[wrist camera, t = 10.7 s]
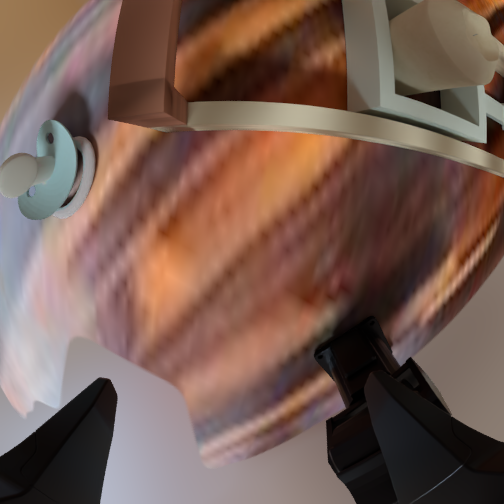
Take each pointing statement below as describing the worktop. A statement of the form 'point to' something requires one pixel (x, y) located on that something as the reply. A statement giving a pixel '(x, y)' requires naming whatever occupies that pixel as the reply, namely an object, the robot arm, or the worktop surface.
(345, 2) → the square frame with handle
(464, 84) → the candle
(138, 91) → the channel
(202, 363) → the worktop surface
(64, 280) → the worktop surface
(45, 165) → the pacifier
